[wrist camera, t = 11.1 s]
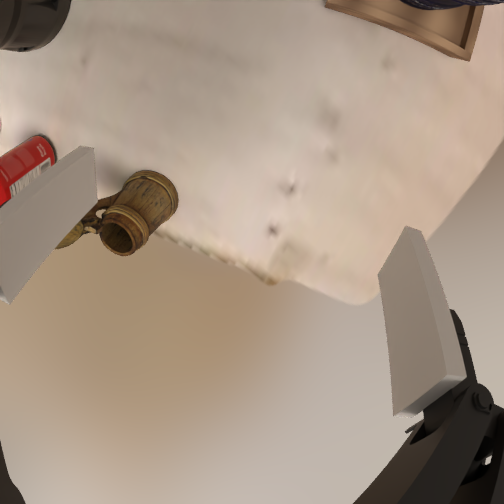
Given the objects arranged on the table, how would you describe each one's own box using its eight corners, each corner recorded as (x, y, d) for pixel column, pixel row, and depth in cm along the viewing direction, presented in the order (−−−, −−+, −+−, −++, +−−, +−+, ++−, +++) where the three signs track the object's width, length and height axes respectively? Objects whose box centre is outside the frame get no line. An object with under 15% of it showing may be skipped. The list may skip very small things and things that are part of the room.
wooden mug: (111, 147, 43) (33, 210, 29) (186, 188, 45) (130, 269, 31) (100, 191, 48) (34, 258, 34) (167, 229, 51) (116, 310, 37)
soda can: (63, 169, 47) (6, 217, 35) (37, 175, 48) (-16, 219, 37) (50, 129, 42) (-14, 170, 30) (24, 138, 43) (-34, 178, 32)
